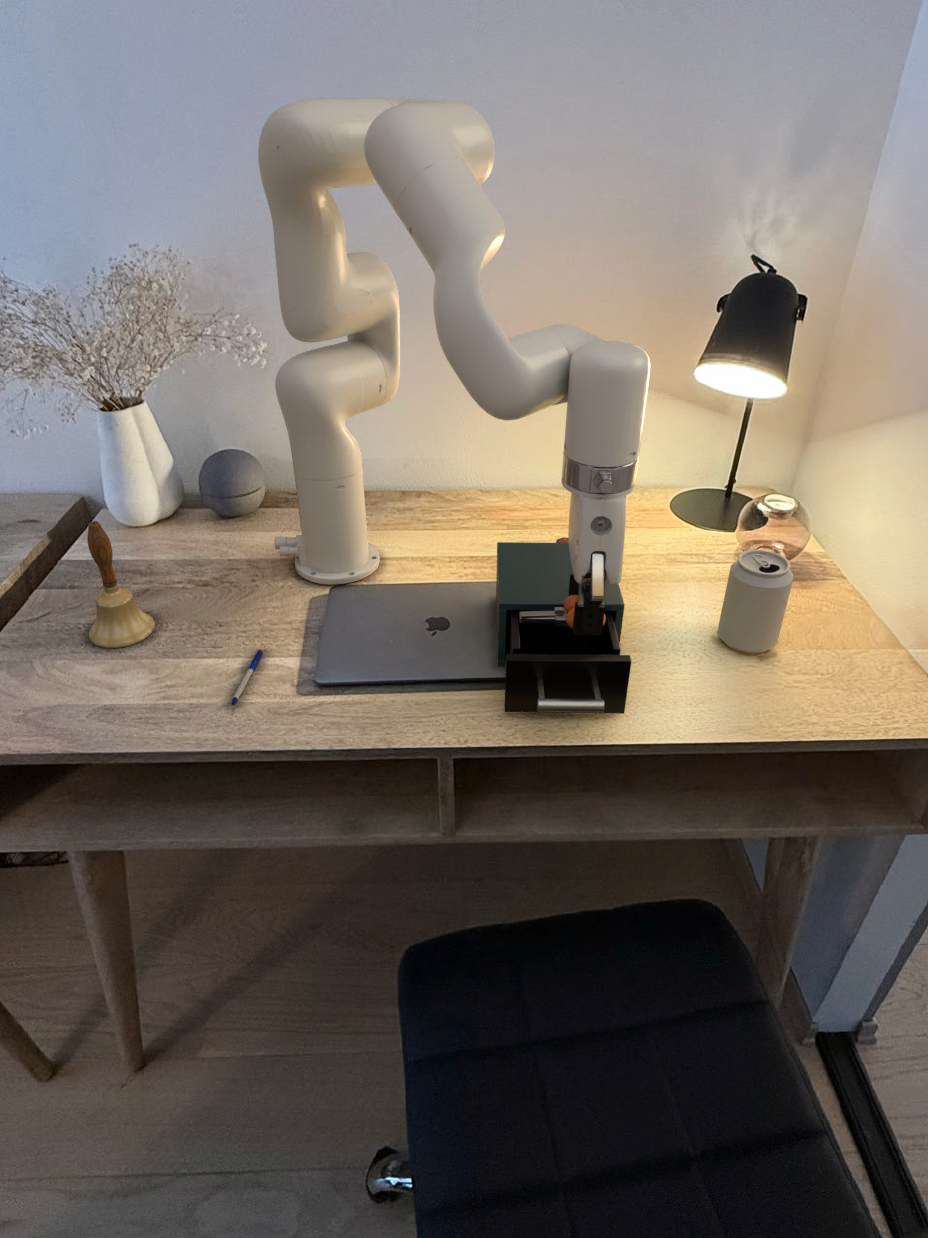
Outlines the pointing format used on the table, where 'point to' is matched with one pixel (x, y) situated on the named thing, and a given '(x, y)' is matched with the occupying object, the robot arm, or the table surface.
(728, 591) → the can
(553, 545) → the drawer cabinet
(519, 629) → the open black drawer
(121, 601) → the hand bell
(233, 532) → the table surface
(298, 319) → the robot arm
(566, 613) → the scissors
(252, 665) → the ballpoint pen
